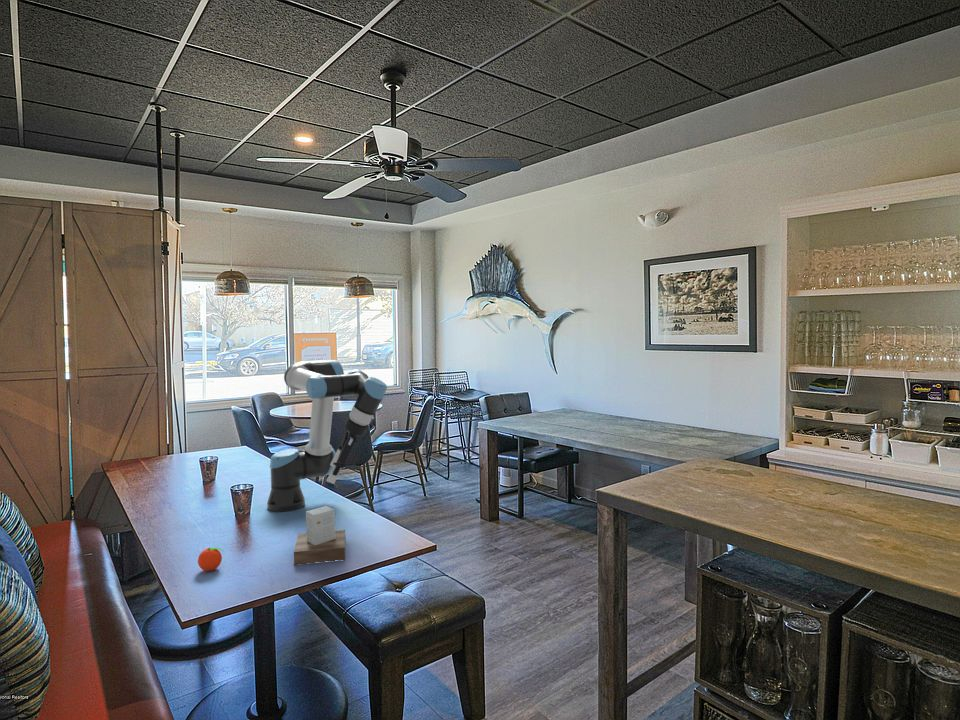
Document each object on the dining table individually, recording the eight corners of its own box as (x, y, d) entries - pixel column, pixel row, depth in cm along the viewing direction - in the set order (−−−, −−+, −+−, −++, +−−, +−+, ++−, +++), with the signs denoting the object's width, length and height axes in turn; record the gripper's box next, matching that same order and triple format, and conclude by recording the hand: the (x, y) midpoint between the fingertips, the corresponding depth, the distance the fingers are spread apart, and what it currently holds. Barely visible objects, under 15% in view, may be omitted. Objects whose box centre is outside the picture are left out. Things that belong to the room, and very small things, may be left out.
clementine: (225, 562, 187) (224, 541, 186) (226, 571, 181) (225, 549, 180) (197, 568, 183) (196, 546, 182) (198, 576, 177) (197, 554, 176)
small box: (327, 535, 199) (326, 505, 198) (335, 539, 195) (335, 509, 194) (306, 541, 193) (305, 510, 192) (314, 546, 189) (313, 514, 188)
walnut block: (298, 547, 200) (298, 533, 200) (345, 543, 204) (345, 529, 203) (294, 567, 185) (293, 552, 184) (345, 562, 188) (344, 547, 188)
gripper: (367, 437, 185) (339, 493, 187) (369, 414, 209) (344, 464, 211) (346, 428, 183) (317, 485, 185) (350, 405, 207) (325, 456, 209)
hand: (331, 474), depth 198 cm, fingers open, 13 cm apart
